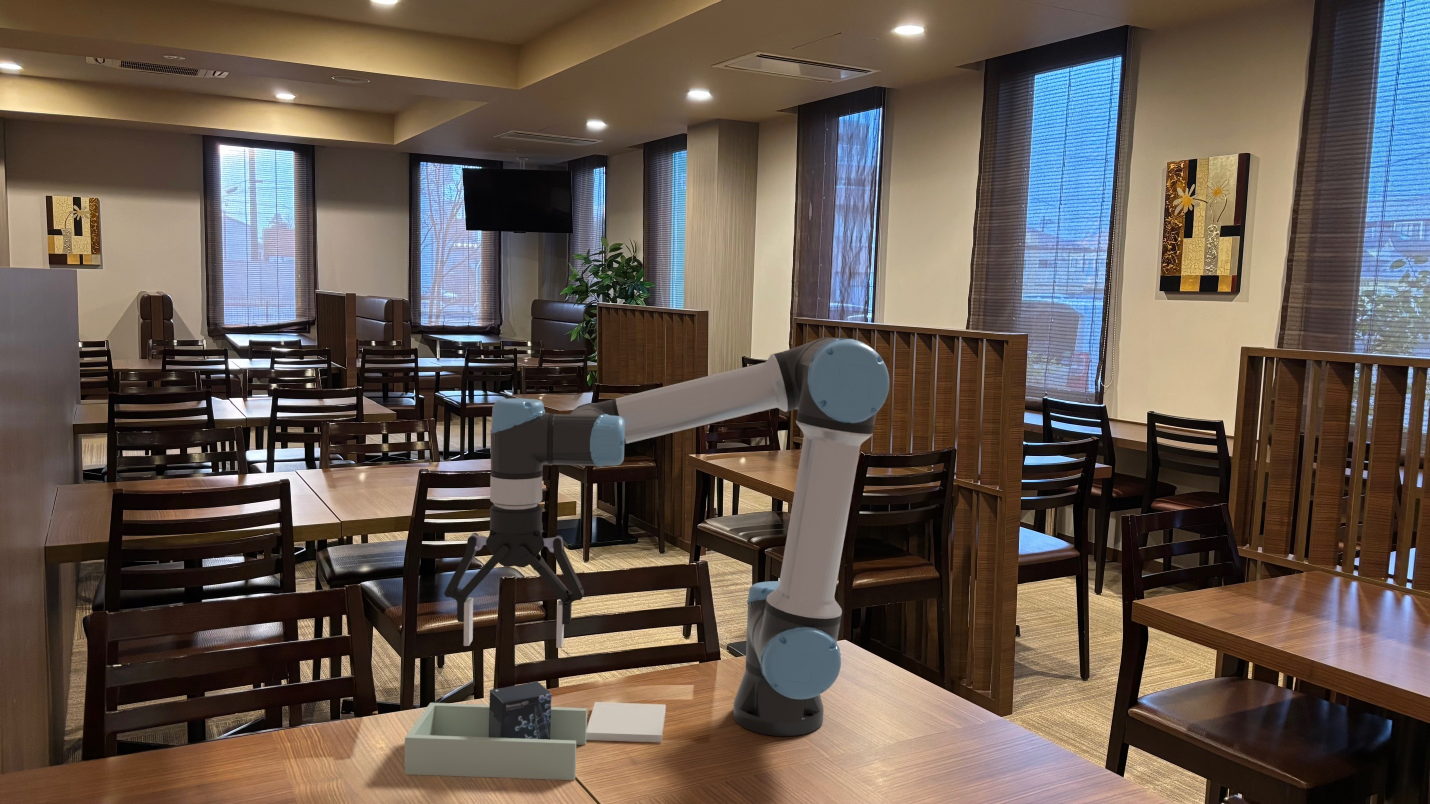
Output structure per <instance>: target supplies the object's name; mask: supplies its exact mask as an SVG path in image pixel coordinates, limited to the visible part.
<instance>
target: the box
mask: <svg viewBox="0 0 1430 804" xmlns="http://www.w3.org/2000/svg"><path fill="white" fill-rule="evenodd" d="M488 705H489V737H490V738H519V739H547V740H550V732H551V730H550V729H551V707H552V693H551V692H550V691H549V690H548V688H546V687H545V686H544V685H542V684H541V683H540V682H539V681H538V680H536V681H531V682H526V683H522V684H521V683H520V684H515V685H511V686H505V687H501V688H492V689H490V690H489V704H488Z"/></svg>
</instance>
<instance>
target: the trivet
mask: <svg viewBox="0 0 1430 804" xmlns="http://www.w3.org/2000/svg"><path fill="white" fill-rule="evenodd" d="M666 709H667V704H663V703H662V704H660V703H632V702H631V703H630V702H604V701H602V702H600V701H594V704H593V708H592V710H591V714H590V716H589V720H588V722H587V732H586V741H605V742H606V741H610V742H612V741H613V742H635V743H636V742H637V743H638V742H639V743H659V744H660V743H661V744H662V742H663V733H664V726H665V719H666Z"/></svg>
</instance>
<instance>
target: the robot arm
mask: <svg viewBox="0 0 1430 804" xmlns="http://www.w3.org/2000/svg"><path fill="white" fill-rule="evenodd" d="M889 391H890V376H889V371H888V368H887V366H886V363H885V362H884V360H883V358H882V357H881V355H880V354H879V353H878V352H877V351H876V350H875V349H873V348H872V347H871V346H869V345H868V344H866V343H864V342H862V341H860V340H856V339H853V338H842V337H835V336H825V337H821V338H817V339H815V340H812V341H810V342H807V343H804V344H801V345H799V346H796V347H793V348H789V349H787V350H784V351H780V352H777V353H772V354H770V355H769V357H768V359H766V360H765V362H761V363H760V362H759V363H757V364H753V365H749V366H745V367H741V368H740V367H739V368H736V369H732V370H728V371H724V372H719V373H715V374H711V375H708V376H707V375H706V376H703V377H700V378H699V377H698V378H695V379H691V380H687V381H682V382H680V383H675V384H670V385H667V386H662V387H658V388H654V389H649V390H645V391H642V392H638V393H632V394H629V395H625V396H621V397H617V398H614V399H610V400H609V399H608V400H604V401H599V402H596V403H594V402H593V403H592V402H588V403H583V404H580V405H578V406H577V407H575V408H574V409H573V410H571V412H570V413H569V414H564V413H563V414H560V413H558V414H557V413H548V412H546V410H545V405H544V402H543V401H541V400H539V399H535V398H522V397H521V398H519V397H517V398H516V397H515V398H502V399H498V400H497V401H496V402H494V404H493V405H492V413H491V426H490V427H491V429H490V478H489V479H490V480H489V481H490V482H489V484H490V486H489V487H490V489H489V492H490V493H489V495H490V496H489V500H490V502H491V503H493V504H492V505H491V506H490V508H489V534H488V536H483V535H479V534H478V533H476V532H473V533H471V534H470V536H469V537H468V538H467V542H466V549H465V553H464V554H463V556H462V558H461V560H460V562H459V564H458V566H457V568H456V570H455V571H454V573H453V575H452V577H451V578H450V581H449V583H448V584H447V586H446V587H445V590H444V592H443V595H444V597H446V598H452V599H454V600H455V601H456V609H457V610H456V620H457V622H458V623H463V646H464V647H467V646H468V647H469V646H470V645H471V643H472V642H473V638H474V636H473V634H474V631H473V630H474V598H473V597H469V596H470V594H471V593H473V591H474V590H475V588H477V587H478V585H480V584H481V582H482V581H483V580H484V579H485V577H487V576H488V575H489V574H490V573H491V571H492V570H494V568H495V567H496V566H497V564H499V565H501V566H503V568H511V567H517V568H526V567H527V566H530V567H531V568H532V569H533V570H534V571H535V572H536V573H537V574H538V575H539V576H540V577H541V578H542V579H543V581H544V582H545V583H546V584H547V586H548V587H549V588H550V589H551V590H552V592H553V593H554V594H555V595H556V596H557V598H558V602H557V604H556V641H555V643H556V646H555V647H556V648H557V649H562V647H563V644H564V632H565V631H564V630H565V629H564V628H565V625H570V624H571V623H570V622H571V620H572V608H573V607H572V606H573V605H572V603H573V602H576V601H581V600H582V599H583V596H584V593H585V590H584V588H583V585H582V584H581V581H580V579H579V578H578V576H577V573H576V571H575V570H574V567H573V565H572V563H571V561H570V559H569V557H568V554H567V553H566V551H565V545H564V538H563V536H562V535H561V534H558V535H555V537H546V538H545V537H544V536H543V533H542V530H543V529H542V527H543V526H542V525H543V523H542V522H543V520H542V519H543V506H542V505H541V504H540V503H541V502H542V501H543V473H544V472H543V471H544V470H543V468H544V467H543V466H544V465H548V466H553V465H559V466H560V465H562V466H585V467H586V466H589V467H592V466H593V467H598V468H602V467H607V466H619V465H621V464H622V463H623V462H624V459H625V445H626V444H630V443H635V442H639V441H643V440H646V439H651V438H656V437H659V436H664V435H668V434H671V433H676V432H680V431H684V430H688V429H693V428H697V427H701V426H705V425H710V424H713V423H714V424H715V423H717V422H718V423H719V422H722V421H725V420H730V419H735V418H739V417H743V416H746V415H752V414H754V413H755V414H756V413H759V412H765V411H767V410H771V409H772V410H773V409H776V408H777V409H779V410H780V411H783V412H784V413H785V412H786V413H787V412H790V411H794V410H797V413H796V420H795V423H796V425H797V426H798V427H799V428H800V430H801V432H802V434H803V439H802V444H801V445H802V446H801V451H800V455H799V461H798V467H797V468H798V469H797V474H796V481H795V487H794V492H793V500H792V503H791V511H790V516H789V517H790V518H789V522H788V527H787V528H788V529H787V535H786V540H785V546H784V552H783V559H782V564H781V569H780V570H781V571H780V577H779V580H778V581H777V580H775V581H774V580H772V581H761V582H756V583H754V584H752V585H751V586H750V588H749V589H748V596H747V600H746V604H747V618H746V619H747V621H746V622H747V625H746V642H745V643H746V648H745V651H746V652H745V671H744V674H743V676H742V679H741V682H740V684H739V687H738V690H737V693H736V695H735V698H734V701H733V711H732V712H733V719H734V720H735V722H736V723H737V724H738V725H739V726H740V727H743V728H744V729H747V731H751V732H754V733H758V734H762V735H767V736H775V737H793V736H801V735H806V734H810V733H812V732H815V731H816V730H817V729H819V728H820V727H821V726H822V724H823V723H824V710H825V709H824V704H823V700H822V696H821V694H823V693H824V692H826V691H828V689H830V688H831V687H832V686H833V684H834V683H835V682H836V680H837V678H838V677H839V674H840V671H841V667H842V657H841V655H842V654H841V649H840V647H839V645H838V638H839V637H838V636H839V632H840V631H839V630H840V627H841V619H842V613H843V610H842V608H841V606H840V605H839V603H838V602H837V601H836V599H835V593H836V590H837V583H838V577H839V572H840V565H841V558H842V555H843V554H842V553H843V548H844V543H845V542H844V541H845V537H846V532H847V526H848V519H849V514H850V510H851V509H850V507H851V502H852V495H853V492H854V484H855V479H856V474H857V466H858V462H859V454H860V450H861V445H862V444H863V443H864V442H865V441H867V440H868V439H870V438H871V437H872V436H873V433H874V430H875V424H876V423H875V422H876V417H877V413H878V412H879V410H880V409H881V408H883V405H884V404H885V402H886V400H887V398H888V395H889ZM483 546H486V547H487V549H488V550H489V551H490V553H491V554H492V556H490V558H489V559H488V561H486V562H485V563H484V565H483V566H482V567H481V568H480V569H479V570H478V571H477V573H475V574H474V576H473V577H472V578H471V579H470V580H469V581H468V582H467V583H466V584H465V586H464V587H463V588H459V585H460V583H461V581H462V579H463V578H464V576H465V575H466V572H467V570H468V568H469V567H470V564H471V563H472V561H473V559H474V557H475V555H476V553H477V552H478V551H480V550H481V549H482V548H483ZM544 547H545V548H547V549H548V550H549V552H550V553H552V554H553V555H554V557H555V560H556V563H557V564H558V566H559V569H560V571H561V572H562V573H561V574H562V575H563V577H564V579H565V581H566V583H567V585H568V588H569V589H568V588H567V586H566V585H565V584H564V583H563V582H562V580H561V579H560V578H559V577H558V575H557V574H555V572H554V571H553V570H552V569H551V567H550V566H549V565H548V563H547V562H546V561H545V559H544V558H543V556H542V555H541V554H540V553H541V551H542V550H543V548H544Z"/></svg>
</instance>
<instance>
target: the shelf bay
mask: <svg viewBox="0 0 1430 804" xmlns="http://www.w3.org/2000/svg"><path fill="white" fill-rule="evenodd" d="M587 720H588V708H587V707H564V706H562V707H561V706H551V729H550V730H551V732H550V740H547V739H519V738H490V737H489V704H479V703H475V704H473V703H451V702H449V703H448V702H430V703H429V704H428V705H427V706H426V708H425V709H424V711H422V714H421V715H420V716H419V718H418V719H417V720H416V721H415V723H414V724H413V726H412V727H411V728H410V729H409V731H408V733H406V735H405V737H404V775H413V776H415V775H417V776H423V775H424V776H442V777H443V776H444V777H445V776H446V777H471V778H473V777H474V778H477V777H478V778H497V779H498V778H501V779H502V778H503V779H526V780H528V779H532V780H559V781H575V780H576V775H577V774H576V772H577V771H576V769H577V768H576V767H577V745H580V746H586V744H587V740H586V732H587V726H588V721H587Z"/></svg>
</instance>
